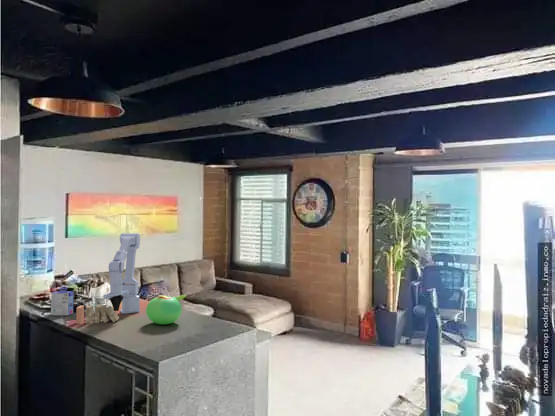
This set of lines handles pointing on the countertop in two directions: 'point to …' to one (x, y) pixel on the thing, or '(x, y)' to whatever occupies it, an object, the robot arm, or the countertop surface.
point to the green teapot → (164, 309)
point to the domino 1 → (80, 314)
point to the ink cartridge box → (62, 302)
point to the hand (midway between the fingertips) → (116, 310)
